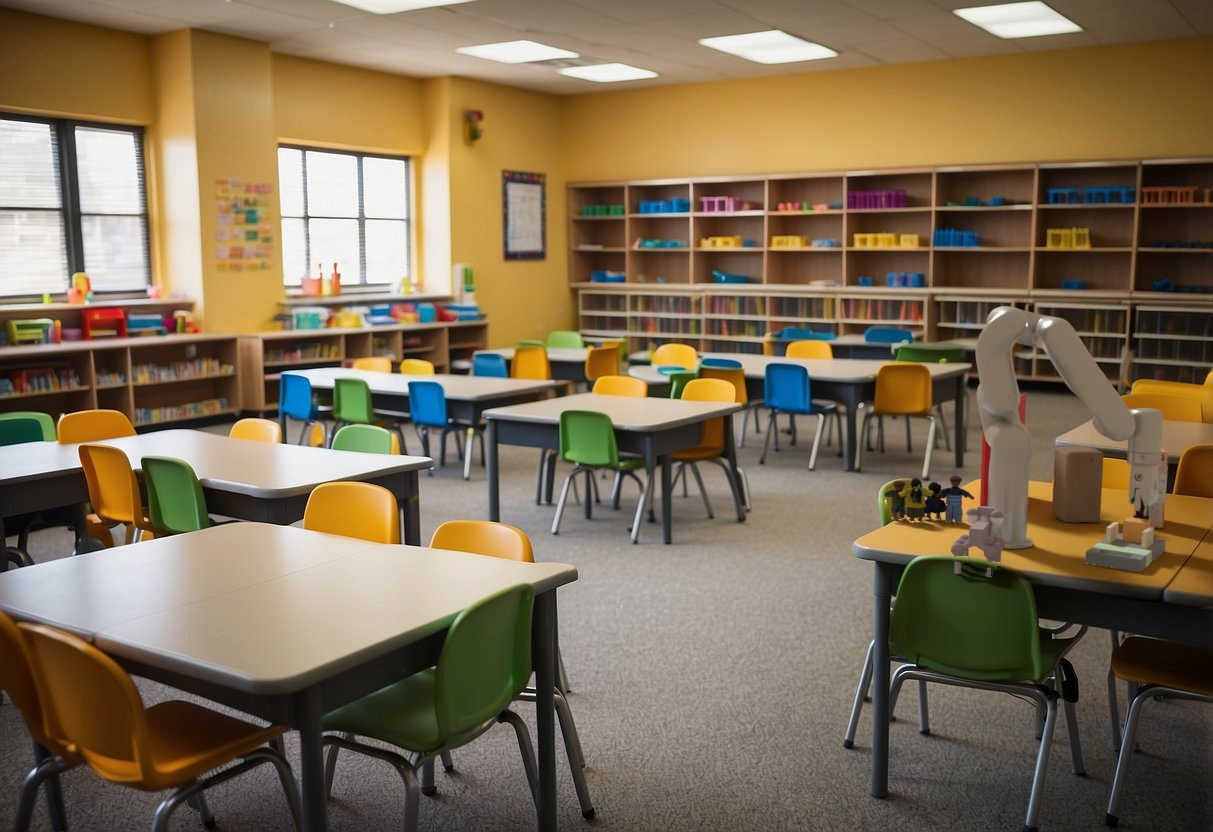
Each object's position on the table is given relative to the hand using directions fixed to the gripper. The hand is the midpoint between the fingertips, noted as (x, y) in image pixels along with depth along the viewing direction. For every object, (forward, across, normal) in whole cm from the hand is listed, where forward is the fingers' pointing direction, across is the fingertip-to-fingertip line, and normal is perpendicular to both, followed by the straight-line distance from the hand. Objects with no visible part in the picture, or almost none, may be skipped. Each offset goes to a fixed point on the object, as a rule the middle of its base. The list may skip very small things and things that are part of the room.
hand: (1140, 530), depth 269 cm
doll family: (+4, -3, +54) cm, 54 cm away
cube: (+1, -5, 0) cm, 5 cm away
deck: (+4, -12, 0) cm, 13 cm away
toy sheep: (+4, -40, +26) cm, 48 cm away
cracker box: (+5, +30, +5) cm, 31 cm away
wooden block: (+4, +23, +22) cm, 32 cm away
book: (+4, +33, +46) cm, 57 cm away
